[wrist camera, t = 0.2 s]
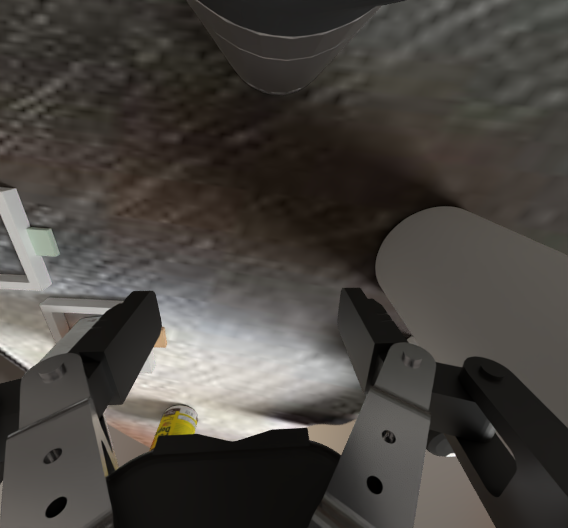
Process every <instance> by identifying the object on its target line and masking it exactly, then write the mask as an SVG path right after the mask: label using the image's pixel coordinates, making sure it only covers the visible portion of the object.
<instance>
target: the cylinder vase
mask: <svg viewBox="0 0 568 528" xmlns="http://www.w3.org/2000/svg"><path fill="white" fill-rule="evenodd" d="M375 271H376V277H377V280H378V283H379V285H380V287H381V288H382V290H383V291H384V293H385V294H386V296H387V297H388V299H389V300H390V302H391V303H392V305H393V306H394V308H395V309H396V311H397V313H398V314H399V316H400V317H401V319H402V320H403V322H404V323H405V325H406V326H407V328H408V329H409V331H410V332H411V334H412V335H413V337H414V338H415V340H416V341H417V343H418V344H419V346H420V347H421V348H423V349H425V350H426V351H427V352H429V353H430V354H431V355H432V356H433V358H434V360H435V362H439V363H443V364H448V365H453V366H458V367H462V366H463V363H464V361H465V360H466V359H467V358H469V357H474V356H477V357H484V358H488V359H490V360H493V361H495V362H498V363H499V364H501V365H503V366H505V367H506V368H507V369H509V370H510V371H511V372H512V373H513V374H514V375H515V376H516V377H517V378H518V379H519V380H520V381H521V382H522V383H523V384H524V385H525V386H526V387H527V388H528V389H529V390H530V391H531V392H532V393H533V394H534V395H535V396H536V397H537V398H538V399H539V400H540V401H541V402H542V403H543V404H544V405H545V406H546V407H547V408H548V409H549V410H550V411H551V412H552V413H553V414H554V415H555V416H556V417H557V418H558V419H559V420H560V421H561V422H562V423H563V424H564V425H565V426H566V427H567V428H568V255H565V254H563V253H561V252H559V251H556V250H554V249H552V248H550V247H547V246H545V245H543V244H541V243H538V242H536V241H534V240H532V239H529V238H527V237H525V236H523V235H520V234H518V233H516V232H514V231H511V230H509V229H507V228H505V227H502V226H500V225H498V224H496V223H493V222H491V221H489V220H487V219H484V218H482V217H480V216H478V215H475V214H473V213H471V212H469V211H466V210H464V209H461V208H457V207H450V206H441V207H433V208H429V209H425V210H422V211H419V212H417V213H415V214H413V215H411V216H409V217H408V218H406V219H404V220H403V221H402V222H400V223H399V224H398V225H397V226H396V227H395V228H394V229H393V230H392V231H391V232H390V233H389V234H388V235H387V237H386V238H385V240H384V241H383V243H382V245H381V247H380V249H379V251H378V254H377V258H376V265H375ZM495 433H496V434H497V436H498V437H499V438H500V440H501V441H502V443H503V444H504V445H505V447H506V448H507V449H508V451H509V452H510V453H511V455H512V456H513V458H514V455H513V453H512V452H511V450H510V449H509V447H508V446H507V444H506V443H505V442H504V440H503V439H502V438H501V436H500V435H499V434H498V432H497V431H496V432H495ZM514 459H515V458H514Z"/></svg>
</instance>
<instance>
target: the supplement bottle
mask: <svg viewBox="0 0 568 528" xmlns="http://www.w3.org/2000/svg"><path fill="white" fill-rule="evenodd" d="M197 421H198V415H197V413H196V412H195V411H194V410H193V409H192V408H190V407H187V406H182V405H177V406H172V407H170V408H168V409H167V410H166V411H165V412H164V414H163V416H162V419H161V422H160V424H159V427H158V429H157V432H156V434H155V437H154V440H153V442H152V445H151V448H150V450H149V451H152V450H154V448H155V445H156V442H157V440H158V437H159V436H164V435H183V434H194V433H195V429H196V425H197Z"/></svg>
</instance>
